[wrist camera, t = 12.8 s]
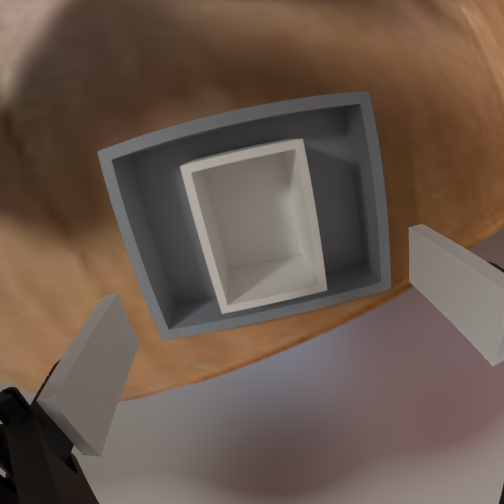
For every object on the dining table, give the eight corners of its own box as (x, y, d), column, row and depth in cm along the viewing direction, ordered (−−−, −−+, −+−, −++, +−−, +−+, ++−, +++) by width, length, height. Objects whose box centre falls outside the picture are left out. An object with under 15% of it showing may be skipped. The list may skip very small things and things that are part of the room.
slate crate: (121, 148, 26) (97, 151, 20) (345, 98, 25) (369, 90, 20) (172, 309, 31) (162, 340, 26) (368, 265, 31) (391, 289, 26)
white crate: (194, 159, 25) (179, 166, 19) (285, 138, 25) (302, 138, 19) (224, 274, 29) (221, 313, 23) (307, 256, 29) (327, 290, 23)
